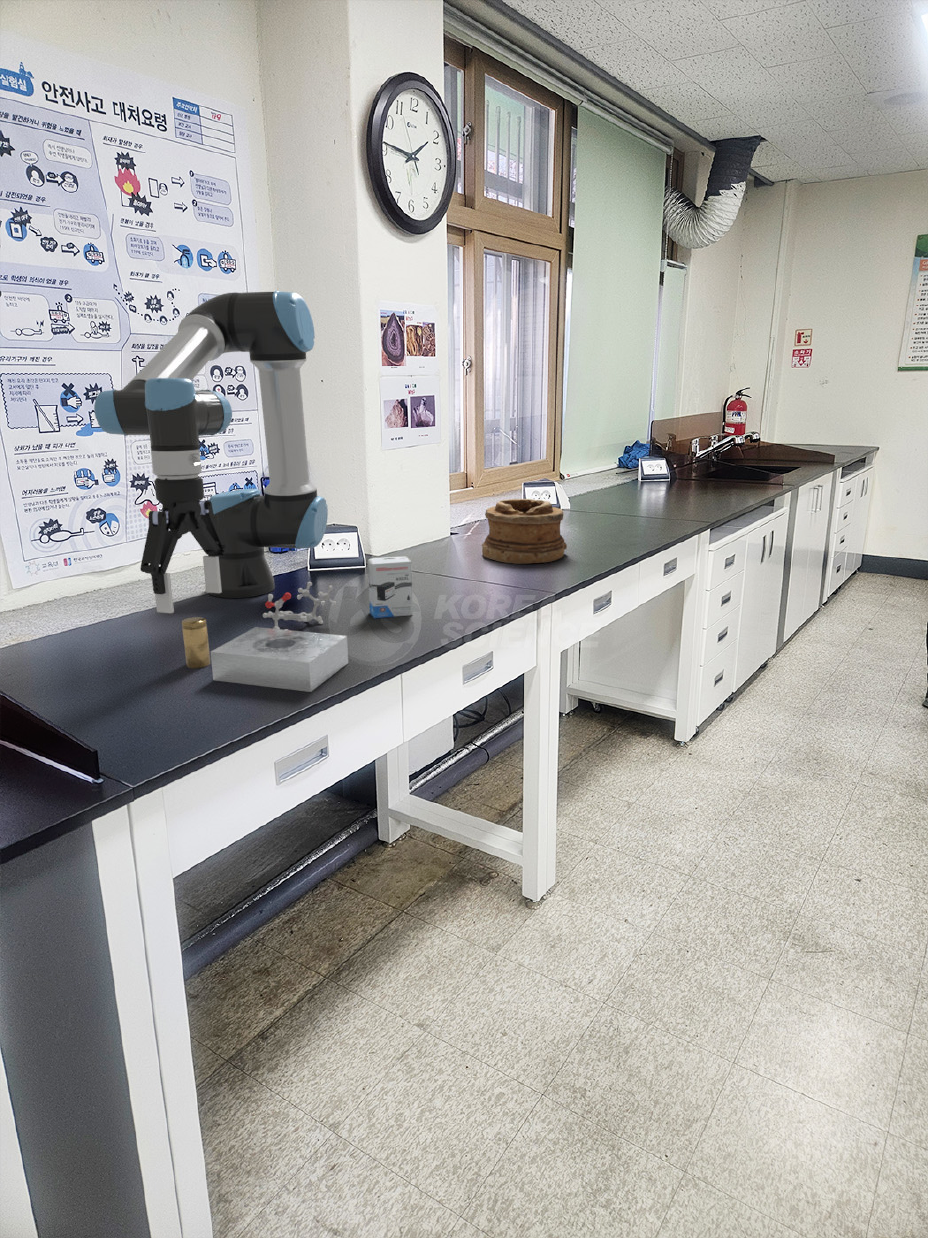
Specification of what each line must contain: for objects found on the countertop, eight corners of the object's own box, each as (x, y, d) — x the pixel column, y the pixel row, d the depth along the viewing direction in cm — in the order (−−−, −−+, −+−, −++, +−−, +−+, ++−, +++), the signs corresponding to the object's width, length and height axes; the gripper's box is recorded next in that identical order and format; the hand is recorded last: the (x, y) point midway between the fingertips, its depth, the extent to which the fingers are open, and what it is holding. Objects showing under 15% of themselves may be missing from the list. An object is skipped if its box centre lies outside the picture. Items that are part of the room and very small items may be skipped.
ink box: (373, 618, 166) (371, 563, 163) (369, 612, 171) (367, 558, 167) (413, 615, 168) (412, 560, 165) (408, 609, 173) (407, 555, 169)
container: (564, 566, 211) (566, 509, 206) (475, 563, 214) (475, 507, 210) (567, 548, 232) (569, 496, 228) (486, 546, 236) (486, 494, 231)
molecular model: (308, 616, 169) (309, 570, 166) (345, 626, 164) (347, 579, 161) (238, 637, 154) (237, 586, 151) (277, 649, 149) (277, 597, 146)
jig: (213, 680, 133) (210, 651, 132) (257, 653, 146) (255, 626, 145) (311, 692, 128) (309, 662, 127) (348, 662, 141) (346, 635, 140)
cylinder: (181, 666, 139) (176, 622, 137) (195, 659, 143) (190, 616, 141) (201, 669, 138) (196, 624, 136) (215, 661, 142) (210, 618, 140)
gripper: (147, 485, 119) (162, 623, 125) (240, 469, 141) (249, 586, 147) (105, 484, 121) (122, 619, 127) (203, 468, 144) (214, 583, 150)
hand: (190, 602), depth 137 cm, fingers open, 13 cm apart
